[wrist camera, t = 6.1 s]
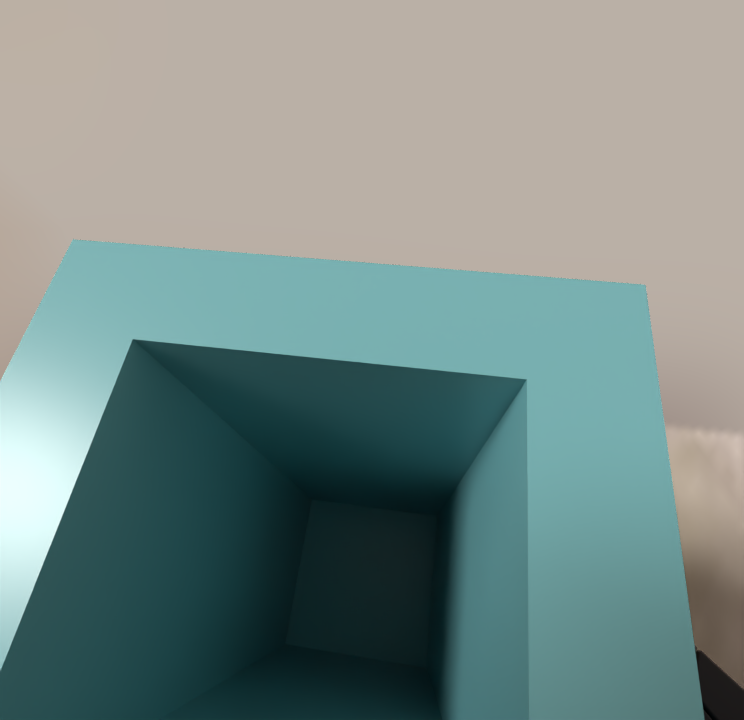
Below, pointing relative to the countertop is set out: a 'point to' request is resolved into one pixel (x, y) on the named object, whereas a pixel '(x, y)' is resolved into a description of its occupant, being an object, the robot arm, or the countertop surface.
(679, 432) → the countertop surface
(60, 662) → the teal square planter
